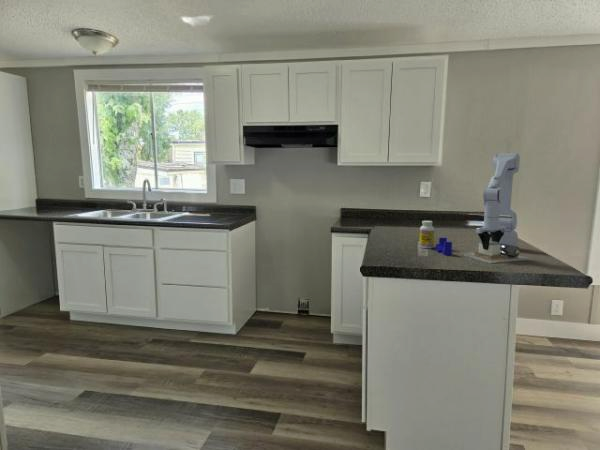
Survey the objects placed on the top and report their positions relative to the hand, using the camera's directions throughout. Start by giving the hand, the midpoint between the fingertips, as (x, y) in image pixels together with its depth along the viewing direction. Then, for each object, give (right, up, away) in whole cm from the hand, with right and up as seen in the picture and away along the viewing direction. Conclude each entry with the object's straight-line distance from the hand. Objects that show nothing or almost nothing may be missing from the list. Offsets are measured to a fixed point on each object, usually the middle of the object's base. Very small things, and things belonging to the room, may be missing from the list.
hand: (490, 248), depth 168 cm
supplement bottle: (-19, -1, +25) cm, 31 cm away
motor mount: (+2, -4, +1) cm, 5 cm away
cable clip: (-15, -3, +13) cm, 20 cm away
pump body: (0, -2, +1) cm, 2 cm away
